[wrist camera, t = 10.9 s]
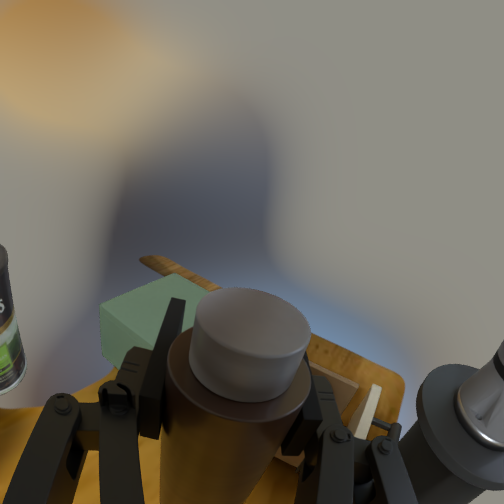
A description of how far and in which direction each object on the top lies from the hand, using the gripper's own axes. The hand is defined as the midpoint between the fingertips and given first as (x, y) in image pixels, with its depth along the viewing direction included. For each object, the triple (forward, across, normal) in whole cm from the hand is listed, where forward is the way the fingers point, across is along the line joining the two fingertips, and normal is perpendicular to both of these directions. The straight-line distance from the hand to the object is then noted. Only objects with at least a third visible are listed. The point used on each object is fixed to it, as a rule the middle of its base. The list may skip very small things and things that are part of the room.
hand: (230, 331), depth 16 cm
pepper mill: (-5, 0, -11) cm, 13 cm away
